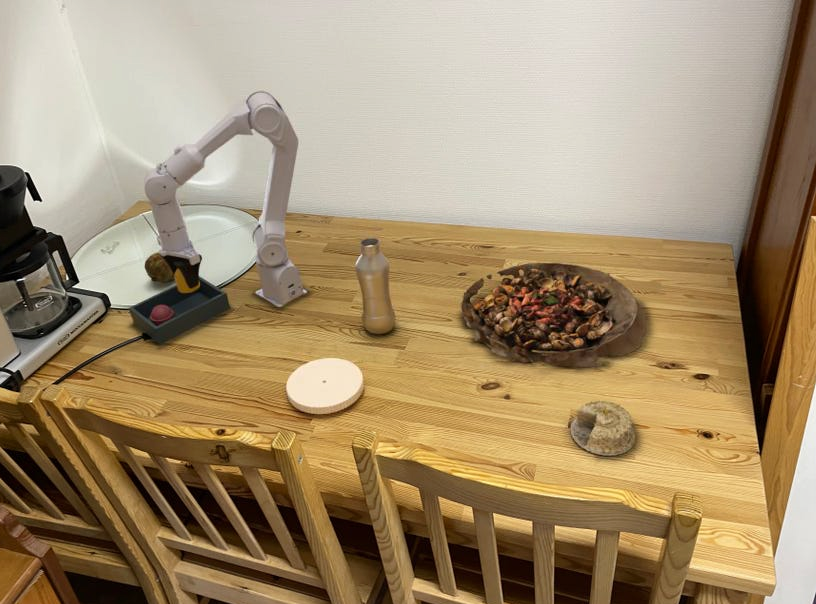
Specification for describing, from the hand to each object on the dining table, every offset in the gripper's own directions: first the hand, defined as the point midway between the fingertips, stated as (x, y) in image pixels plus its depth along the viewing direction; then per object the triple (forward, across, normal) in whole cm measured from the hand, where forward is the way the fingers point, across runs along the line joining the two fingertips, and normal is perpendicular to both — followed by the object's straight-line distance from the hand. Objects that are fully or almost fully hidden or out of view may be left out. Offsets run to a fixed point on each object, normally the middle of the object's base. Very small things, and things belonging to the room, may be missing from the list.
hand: (187, 282), depth 156 cm
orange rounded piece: (+1, 0, 0) cm, 1 cm away
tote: (+8, 0, -3) cm, 8 cm away
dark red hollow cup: (+7, 0, -8) cm, 11 cm away
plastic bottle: (+8, +36, +22) cm, 43 cm away
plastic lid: (+8, +44, +2) cm, 44 cm away
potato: (+8, -18, +4) cm, 21 cm away
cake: (+8, +86, +25) cm, 89 cm away
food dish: (+8, +60, +46) cm, 76 cm away
